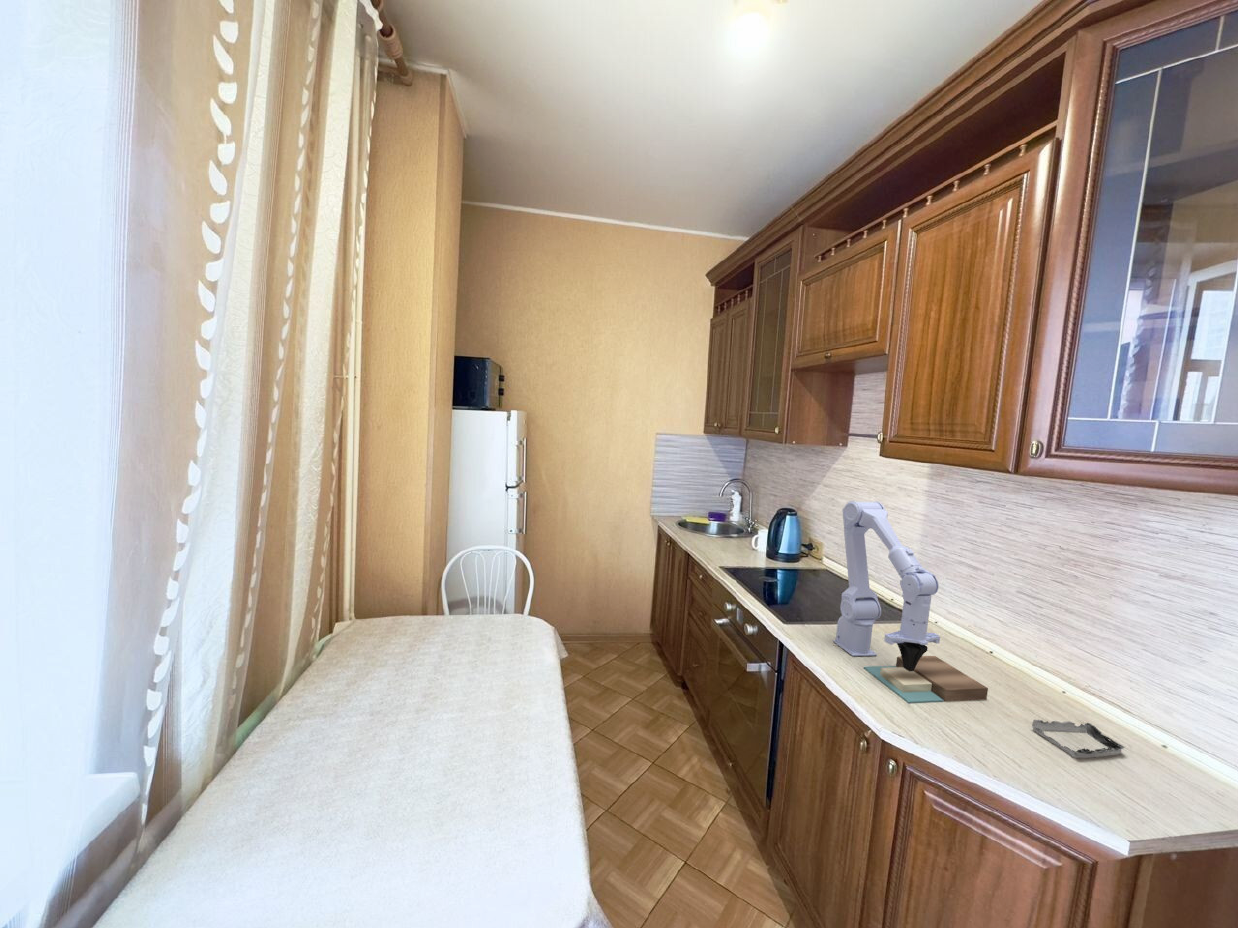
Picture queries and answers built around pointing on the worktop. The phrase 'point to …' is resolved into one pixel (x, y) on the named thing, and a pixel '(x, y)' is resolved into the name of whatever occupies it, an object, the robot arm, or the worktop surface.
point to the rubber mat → (907, 696)
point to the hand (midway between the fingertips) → (908, 669)
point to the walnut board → (948, 680)
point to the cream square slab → (905, 679)
